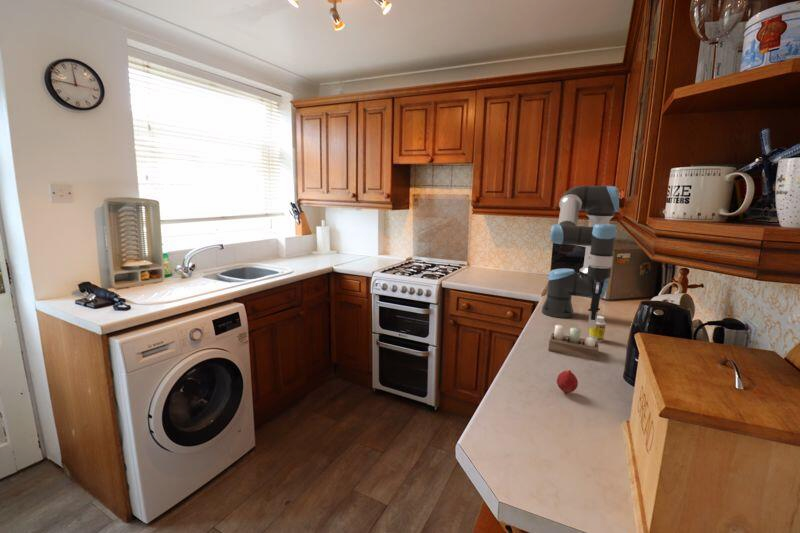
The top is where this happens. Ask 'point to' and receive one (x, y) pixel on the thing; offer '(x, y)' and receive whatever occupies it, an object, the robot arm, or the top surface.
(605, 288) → the robot arm
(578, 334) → the pale green egg
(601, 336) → the supplement bottle
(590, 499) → the top surface
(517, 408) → the top surface
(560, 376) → the onion
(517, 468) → the top surface
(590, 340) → the white egg
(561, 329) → the cream egg
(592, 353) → the socket block
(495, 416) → the top surface
